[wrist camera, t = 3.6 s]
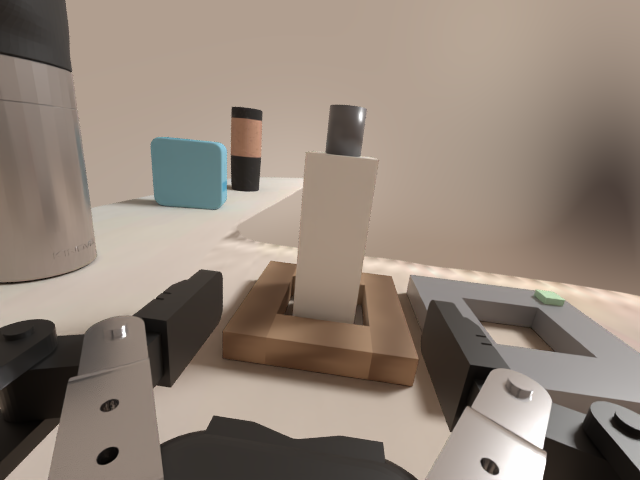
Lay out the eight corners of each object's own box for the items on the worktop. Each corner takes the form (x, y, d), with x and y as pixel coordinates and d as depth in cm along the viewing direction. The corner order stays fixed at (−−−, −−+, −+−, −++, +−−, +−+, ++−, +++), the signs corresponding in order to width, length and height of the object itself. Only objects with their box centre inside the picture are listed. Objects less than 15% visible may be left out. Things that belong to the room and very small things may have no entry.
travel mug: (225, 189, 78) (226, 105, 72) (237, 185, 85) (238, 109, 79) (254, 192, 77) (257, 108, 71) (263, 188, 84) (266, 112, 78)
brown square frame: (222, 358, 19) (222, 331, 19) (269, 279, 31) (270, 260, 30) (412, 386, 18) (418, 359, 18) (388, 294, 30) (391, 276, 29)
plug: (291, 332, 22) (310, 99, 18) (300, 302, 27) (317, 108, 22) (351, 340, 22) (387, 106, 17) (350, 309, 26) (379, 114, 22)
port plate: (450, 404, 17) (461, 367, 17) (406, 292, 31) (411, 269, 30) (708, 443, 17) (732, 406, 16) (548, 311, 30) (556, 287, 29)
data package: (226, 205, 60) (227, 143, 57) (222, 210, 56) (222, 143, 52) (164, 200, 59) (160, 136, 55) (154, 205, 55) (149, 136, 51)
